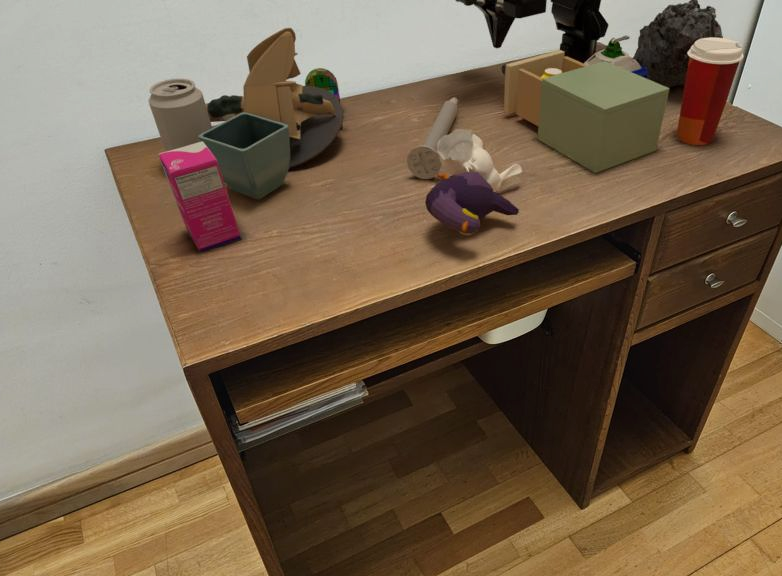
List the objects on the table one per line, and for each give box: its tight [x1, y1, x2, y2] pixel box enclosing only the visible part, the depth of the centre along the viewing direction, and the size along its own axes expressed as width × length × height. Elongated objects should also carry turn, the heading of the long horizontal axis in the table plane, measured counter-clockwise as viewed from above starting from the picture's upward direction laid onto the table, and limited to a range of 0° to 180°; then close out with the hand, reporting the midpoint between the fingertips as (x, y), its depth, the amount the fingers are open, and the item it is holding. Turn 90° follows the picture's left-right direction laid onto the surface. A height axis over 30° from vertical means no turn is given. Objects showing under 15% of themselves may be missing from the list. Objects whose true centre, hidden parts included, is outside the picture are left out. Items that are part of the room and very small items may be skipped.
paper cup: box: [676, 37, 744, 146], centre depth 98 cm, size 8×8×14 cm
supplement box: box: [157, 141, 242, 253], centre depth 80 cm, size 6×6×12 cm
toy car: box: [584, 35, 649, 79], centre depth 111 cm, size 9×12×10 cm
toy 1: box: [205, 27, 344, 169], centre depth 95 cm, size 18×20×15 cm
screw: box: [406, 97, 459, 180], centre depth 102 cm, size 5×26×5 cm
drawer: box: [500, 49, 588, 128], centre depth 106 cm, size 18×11×8 cm, turn 33°
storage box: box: [537, 61, 670, 174], centre depth 98 cm, size 14×13×10 cm
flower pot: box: [198, 112, 290, 200], centre depth 90 cm, size 9×9×9 cm
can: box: [147, 77, 213, 152], centre depth 95 cm, size 8×8×12 cm
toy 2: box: [424, 172, 520, 236], centre depth 82 cm, size 11×12×7 cm
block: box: [304, 67, 344, 129], centre depth 106 cm, size 12×8×7 cm
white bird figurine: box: [437, 128, 523, 193], centre depth 89 cm, size 12×8×10 cm
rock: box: [632, 0, 724, 88], centre depth 112 cm, size 16×14×15 cm
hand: (497, 47), depth 113 cm, fingers closed
